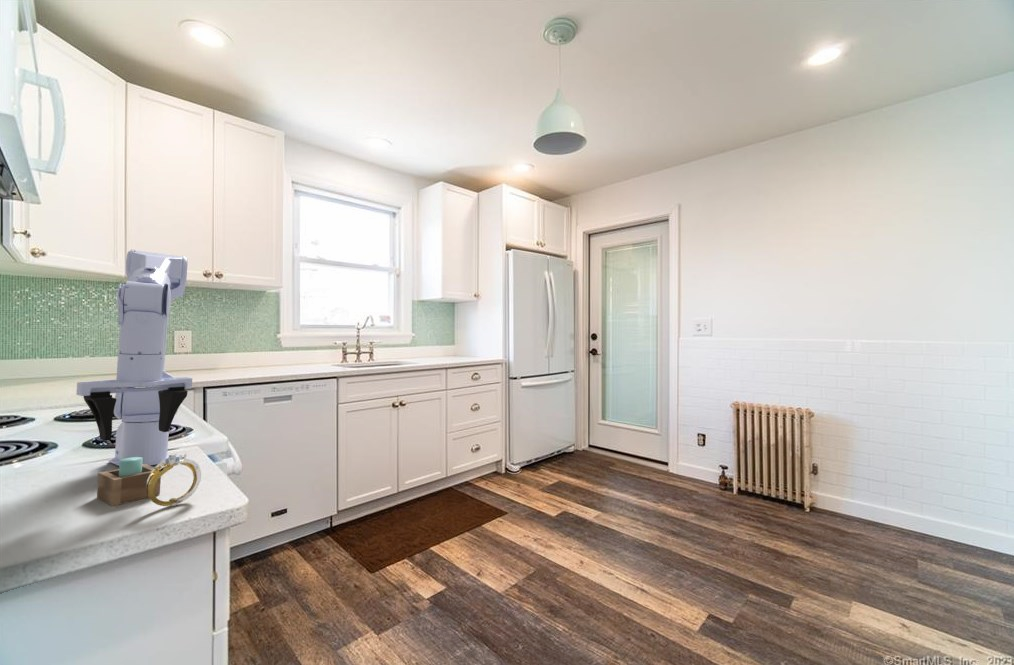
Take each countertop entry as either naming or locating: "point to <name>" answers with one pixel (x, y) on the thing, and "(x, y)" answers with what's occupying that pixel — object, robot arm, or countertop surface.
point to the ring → (158, 472)
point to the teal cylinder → (130, 466)
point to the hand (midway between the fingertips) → (136, 435)
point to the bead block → (124, 486)
